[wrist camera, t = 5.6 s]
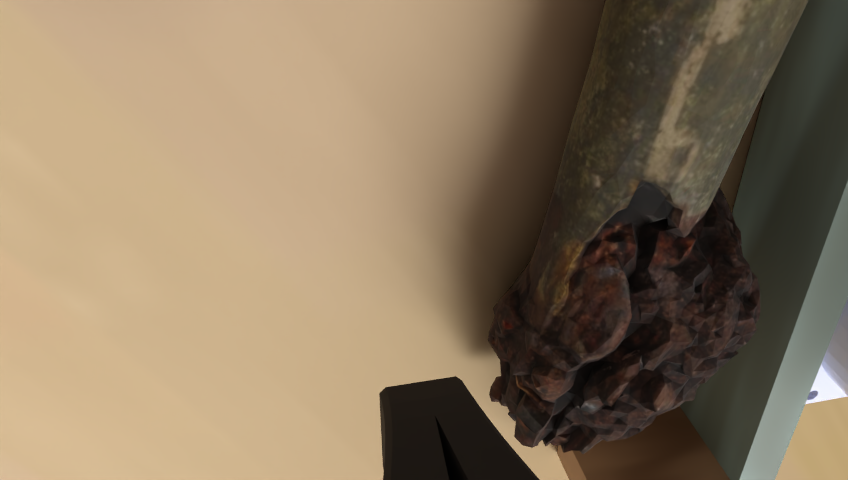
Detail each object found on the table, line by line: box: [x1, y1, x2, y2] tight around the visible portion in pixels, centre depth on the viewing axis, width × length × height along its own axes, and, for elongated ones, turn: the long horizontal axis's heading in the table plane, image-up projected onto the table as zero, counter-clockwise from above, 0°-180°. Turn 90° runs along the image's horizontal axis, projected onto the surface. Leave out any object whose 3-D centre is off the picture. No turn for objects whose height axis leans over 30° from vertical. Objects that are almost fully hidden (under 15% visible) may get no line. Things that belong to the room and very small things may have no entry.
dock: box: [557, 0, 848, 480], centre depth 20 cm, size 6×27×4 cm, turn 0°
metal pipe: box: [488, 0, 809, 454], centre depth 20 cm, size 18×7×6 cm, turn 168°
